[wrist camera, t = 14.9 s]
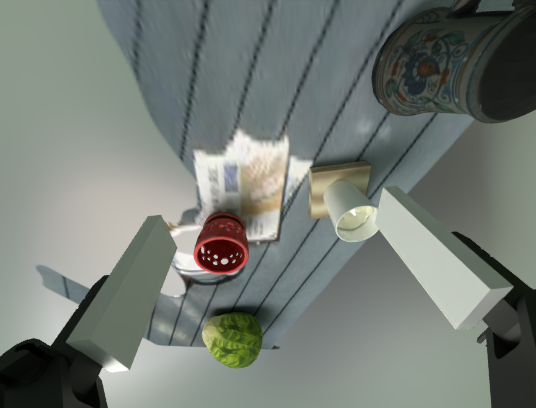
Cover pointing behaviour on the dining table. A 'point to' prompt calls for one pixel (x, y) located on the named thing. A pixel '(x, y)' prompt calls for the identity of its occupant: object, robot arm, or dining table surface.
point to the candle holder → (350, 211)
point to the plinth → (328, 175)
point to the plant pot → (222, 244)
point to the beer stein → (461, 63)
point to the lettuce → (233, 338)
